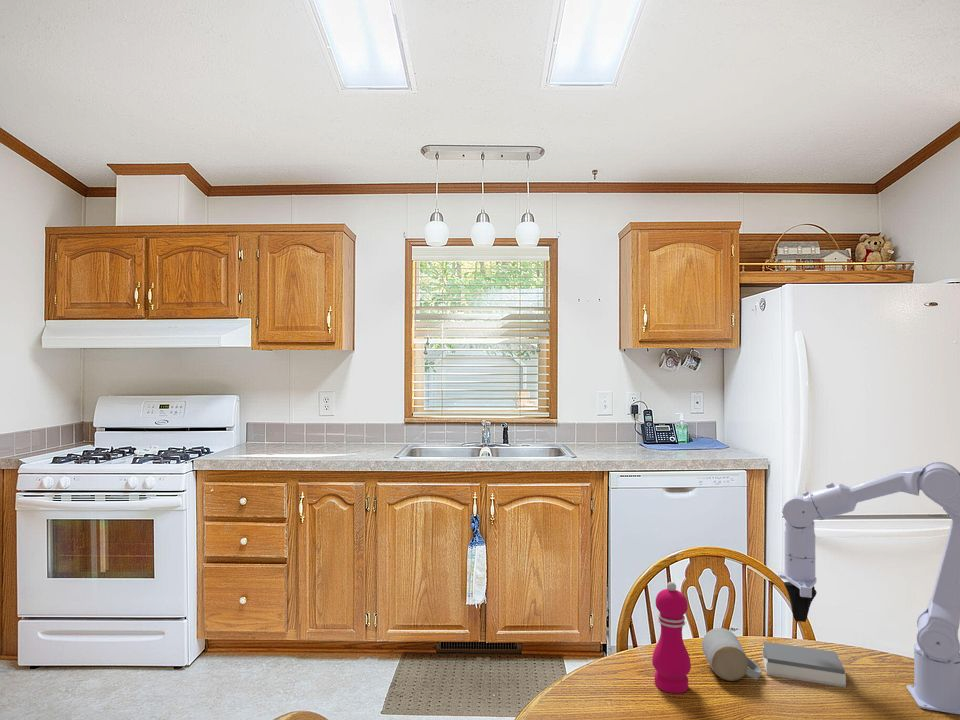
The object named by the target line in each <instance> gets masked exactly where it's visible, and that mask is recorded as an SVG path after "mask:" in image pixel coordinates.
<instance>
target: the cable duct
mask: <svg viewBox="0 0 960 720" xmlns="http://www.w3.org/2000/svg"><path fill="white" fill-rule="evenodd" d="M762 661H763V664H764V670H765V673H766V674H765V675H766V676H772V677H779V678H784V679H785V678H786V679H792V680H798V681H803V682H810V683H817V684H823V685H827V686H835V687H841V688H847V674H846V673H845V674H841V673H834V672H828V671H821V670H815V669H808V668H802V667H795V666H789V665H782V664H776V663H769V662H768V661H767V657H766V653H765V649H764V645H762Z"/></svg>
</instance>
